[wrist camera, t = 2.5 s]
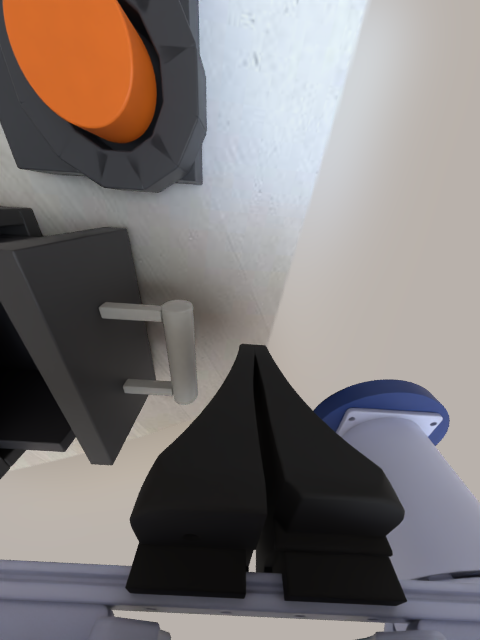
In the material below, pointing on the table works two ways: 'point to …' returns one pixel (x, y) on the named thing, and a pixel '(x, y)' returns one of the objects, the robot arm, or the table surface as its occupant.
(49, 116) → the control block
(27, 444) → the drawer
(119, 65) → the button
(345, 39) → the table surface
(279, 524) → the robot arm
